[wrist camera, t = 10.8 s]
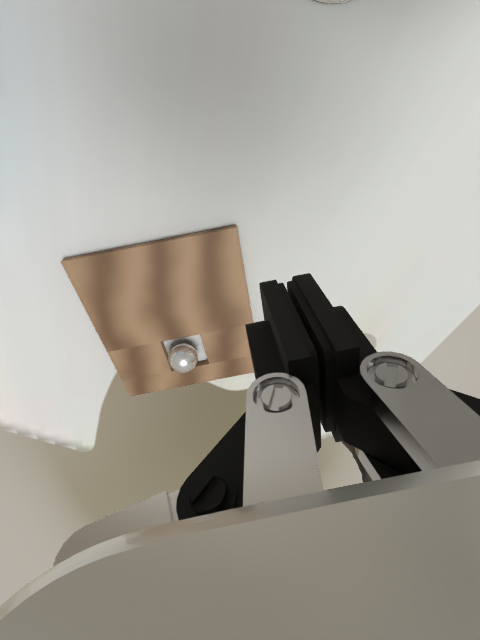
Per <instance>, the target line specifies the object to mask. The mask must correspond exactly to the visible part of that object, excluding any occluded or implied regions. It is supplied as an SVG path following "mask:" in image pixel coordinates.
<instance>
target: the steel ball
mask: <svg viewBox="0 0 480 640" xmlns="http://www.w3.org/2000/svg"><path fill="white" fill-rule="evenodd" d="M168 361H169V364H170V366H171V367H172V369H174V370H175V371H177V372H180V373H186V372H189V371H191V370H192V369H193V368H194V367H195V366H196V364H197V361H198V354H197V351H196V350H195V348H194V347H193V346H191V345H189V344H186V343H181V344H178V345H176V346H174V347H173V348H172V349H171V351H170V353H169V356H168Z"/></svg>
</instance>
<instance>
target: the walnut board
mask: <svg viewBox="0 0 480 640" xmlns="http://www.w3.org/2000/svg"><path fill="white" fill-rule="evenodd" d="M61 263H62V265H63V267H64V269H65V271H66V273H67V275H68V277H69V279H70V281H71V283H72V285H73V286H74V288H75V290H76V292H77V294H78V296H79V298H80V300H81V302H82V304H83V306H84V308H85V310H86V312H87V314H88V315H89V317H90V319H91V321H92V323H93V325H94V327H95V329H96V331H97V333H98V335H99V337H100V339H101V341H102V343H103V344H104V346H105V348H106V350H107V352H108V354H109V356H110V358H111V360H112V362H113V364H114V366H115V368H116V370H117V372H118V374H119V375H120V377H121V379H122V381H123V383H124V385H125V387H126V389H127V391H128V393H129V395H130V396H135V395H139V394H144V393H150V392H155V391H160V390H165V389H170V388H175V387H181V386H186V385H191V384H196V383H201V382H206V381H211V380H216V379H222V378H227V377H232V376H237V375H242V374H247V373H252V372H254V368H253V364H252V359H251V354H250V348H249V343H248V338H247V333H246V327H245V324H250V323H253V320H252V314H251V308H250V302H249V296H248V290H247V285H246V279H245V273H244V267H243V261H242V255H241V249H240V243H239V237H238V231H237V226H236V225H232V226H227V227H222V228H217V229H212V230H207V231H201V232H196V233H191V234H186V235H181V236H176V237H171V238H166V239H161V240H155V241H150V242H145V243H140V244H135V245H130V246H125V247H120V248H115V249H110V250H104V251H99V252H94V253H89V254H84V255H79V256H74V257H69V258H64V259H63V260H62V261H61ZM197 334H200V335H201V338H202V342H203V345H204V348H205V352H206V355H207V359H208V360H204V361H199V362H197V364H196V366H195V367H194V368H193V369H192V370H191V371H189V372H186V373H180V372H177V371H175V370H174V369H172V367H171V366H170V364H169V361H168V355H167V352H166V349H165V347H164V344H163V341H167V340H172V339H177V338H182V337H187V336H192V335H197Z"/></svg>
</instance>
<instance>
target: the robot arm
mask: <svg viewBox="0 0 480 640" xmlns="http://www.w3.org/2000/svg"><path fill="white" fill-rule="evenodd" d="M315 1H319V2H323V3H328V4H334V3H345V2H348V1H351V0H315ZM287 290H288V292H287ZM287 290H286V288H285V286H284V284H283V283H279V284H278V283H277V281H276V280H272V281H267V282H262V283H260V292H261V299H262V306H263V313H264V320H265V321H260V322H255V323H250V324H245V327H246V333H247V338H248V343H249V348H250V354H251V359H252V364H253V368H254V373H255V378H256V380H255V381H254V382H253V383H252V384H251V385H250V387H249V388H248V391H247V396H246V412H245V413H244V414H243V416H241V418H240V419H239V420H238V421H237V422H236V423H235V424H234V426H233V427H232V428H231V429H230V430H229V431H228V432H227V434H226V435H225V436H224V437H223V438H222V439H221V440H220V441H219V443H218V444H217V445H216V446H215V447H214V448H213V449H212V451H211V452H210V453H209V454H208V455H207V456H206V458H205V459H204V460H203V461H202V462H201V463H200V464H199V465H198V467H197V468H196V469H195V470H194V471H193V472H192V473H191V474H190V476H189V477H188V478H187V479H186V481H185V482H184V484H183V485H182V487H181V488H180V489H179V490H177V491H174V492H172V493H170V494H168V493H167V491H164V492H161V493H159V494H157V495H154V496H152V497H150V498H148V499H145V500H143V501H141V502H138V503H136V504H134V505H132V506H129V507H127V508H125V509H123V510H120V511H118V512H115V513H113V514H111V515H109V516H106V517H104V518H102V519H99V520H97V521H95V522H93V523H90V524H88V525H86V526H84V527H82V528H81V529H79V530H78V531H76V532H75V533H73V534H72V535H71V536H70V538H69V539H68V540H67V541H66V542H65V543H64V544H63V546H62V547H61V549H60V551H59V553H58V554H57V556H56V558H55V562H54V565H53V567H52V568H50V569H49V570H47V571H46V572H44V573H43V574H41V575H40V576H38V577H37V578H35V579H34V580H33V581H31V582H30V583H28V584H27V585H25V586H24V587H23V588H22V589H20V590H19V591H18V592H16V593H15V594H14V595H13V596H12V597H10V598H9V599H8V600H7V601H6V602H4V603H3V604H2V605H1V606H0V640H480V399H478V398H475V397H472V396H469V395H465V394H463V393H460V392H456V391H453V390H450V389H448V388H447V387H446V386H445V385H443V384H442V383H441V382H440V381H439V380H438V379H437V378H435V377H434V376H433V375H432V374H431V373H430V372H429V371H427V370H426V369H425V368H424V367H423V366H421V364H419V363H418V362H417V361H415V360H414V359H412V358H411V357H408V356H406V355H404V354H400V353H396V352H378V353H377V351H376V350H375V349H374V347H373V346H372V345H371V343H370V342H369V341H368V339H367V338H366V337H365V335H364V334H363V332H362V331H361V330H360V328H359V327H358V326H357V324H356V323H355V322H354V320H353V319H352V318H351V316H350V315H349V313H348V312H347V311H346V309H345V308H344V307H343V306H337V307H333V306H332V305H331V303H330V302H329V300H328V299H327V298H326V296H325V295H324V293H323V292H322V290H321V289H320V287H319V286H318V284H317V283H316V281H315V280H314V278H313V277H312V276H311V274H310V273H308V274H303V275H297V276H293V278H292V281H289V282H287ZM320 421H321V423H322V426H323V428H324V430H325V432H330V431H331V432H332V434H333V437H334V439H335V442H340V441H344V442H345V443H347V444H349V445H351V446H353V447H355V452H356V454H357V457H358V459H359V460H360V462H361V463H362V465H363V466H364V468H365V470H366V471H367V473H368V474H369V476H370V477H371V479H372V480H373V481H369V482H364V483H359V484H354V485H349V486H344V487H339V488H334V489H329V490H324V491H323V485H322V480H321V474H320V468H319V462H318V456H317V452H318V451H319V449H320V448H321V425H320Z"/></svg>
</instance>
